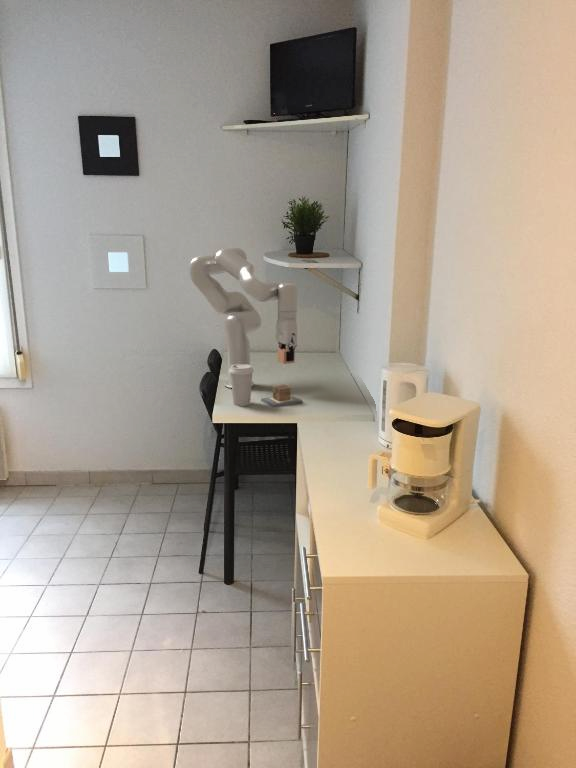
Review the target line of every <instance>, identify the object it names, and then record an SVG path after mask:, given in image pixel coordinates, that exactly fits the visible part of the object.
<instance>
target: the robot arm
mask: <svg viewBox="0 0 576 768" xmlns="http://www.w3.org/2000/svg"><path fill="white" fill-rule="evenodd" d="M246 254H247V253H246V252H245V250H243V249H242V248H240V247H225V248H221V249H220V250H218V251H217V252H216V253H215V254H201V255H198V256H195V257H194V258H192V259H191V261H190V262H189V267H188V271H189V277H190V280H191V281H192V283H193V285H194V286H195V287H196V288H197V289H198V290H199V292H200V293H201V294H202V295H203V296H204V298H205V299H206V301H207V302H208V303H209V304H210V306H211V307H212V308H213V309H214V311H215V312H216V313H217V314H218V315H219V316H227V317H226V318H225V321H224V331H225V335H226V344H227V345H226V346H227V347H226V348H227V381H225V382H224V387H225V386H226V387H225V388H227V387H228V388H227V389H231V388H232V386H231V377H230V373H229V369H230V368H231V366H232V365H235V364H248V365H251V343H250V341H249V340H250V339H249V337H248V335H247V334H251V333H254V332H256V331H258V330H259V329H260V328H261V325H262V318H261V316H260V313H259V312H258V310H257V309H256V308H255V307H254V305H253V304H252V303H251V302H250V300H249V299H248V298H247V296H245V295H244V294H243V293H242V292H239V291H234V290H233V291H227V290H225V289H224V287H223V286H222V284H220V282H219V281H218V280H217V279H215V278H214V277H212V276H214V275H220V274H223V273H227V274H229V275H230V276H232V277H233V278H235V279H236V280H237V281H239V283H240V286H241V287H242V290H243V291H244V292H245V293H246V294H247V295H248V296H250V297H252V298H253V299H254V300H256V301H258V302H262V303H268V302H271V301H272V302H273V301H277V319H276V324H275V341H277V344H278V349H285V348H287V351H286V361H294V351H295V352H296V347H298V325H297V324H298V323H297V316H298V314H297V313H298V311H297V310H298V286H297V285H296V283H293V282H292V283H291V282H281V281H278V280H273V281H264V282H263V281H260V280H259V279H258V278H256V277H255V276H253V274H254V270H255V268H254V267H255V266H254V265H253V264H252V263H251V262H250V261H248V260H247V255H246ZM253 387H255V382H254V380H252V384H251V388H253Z"/></svg>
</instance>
